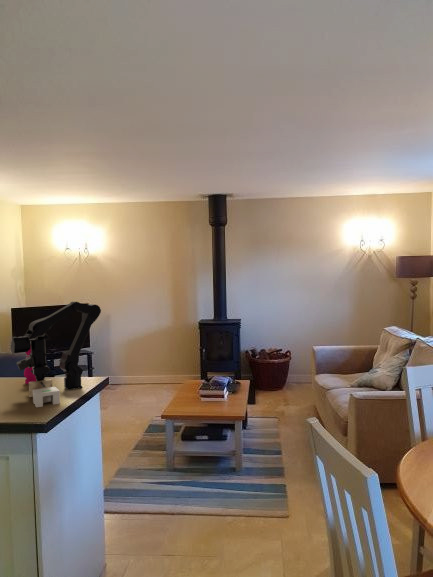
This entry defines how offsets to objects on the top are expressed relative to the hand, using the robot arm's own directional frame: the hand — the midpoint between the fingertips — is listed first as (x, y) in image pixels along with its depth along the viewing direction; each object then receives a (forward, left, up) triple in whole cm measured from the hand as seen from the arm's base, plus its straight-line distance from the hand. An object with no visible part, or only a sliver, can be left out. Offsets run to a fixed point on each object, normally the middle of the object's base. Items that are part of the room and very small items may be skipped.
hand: (39, 387), depth 180 cm
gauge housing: (0, +16, -3) cm, 16 cm away
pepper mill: (-1, -24, -3) cm, 24 cm away
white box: (0, +10, -3) cm, 11 cm away
